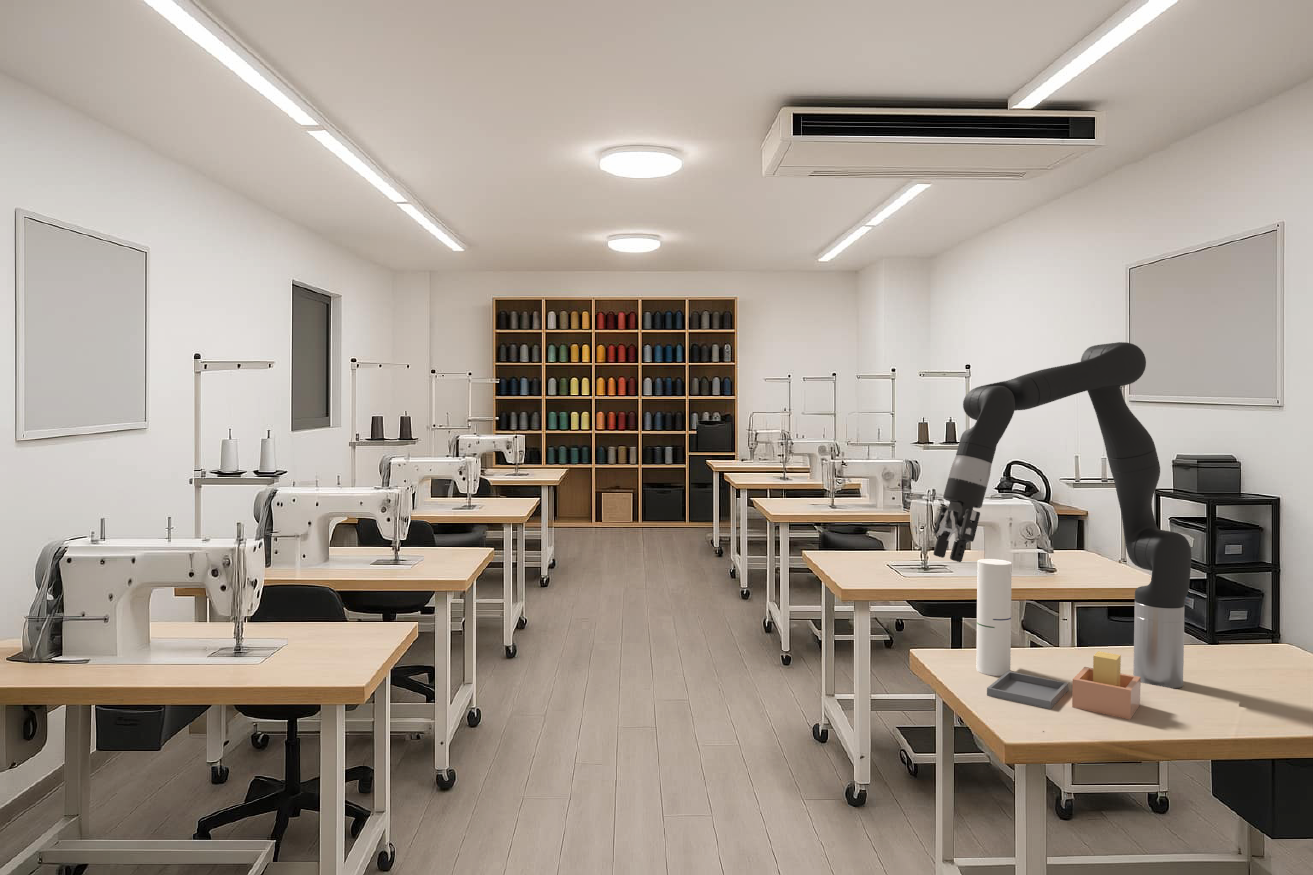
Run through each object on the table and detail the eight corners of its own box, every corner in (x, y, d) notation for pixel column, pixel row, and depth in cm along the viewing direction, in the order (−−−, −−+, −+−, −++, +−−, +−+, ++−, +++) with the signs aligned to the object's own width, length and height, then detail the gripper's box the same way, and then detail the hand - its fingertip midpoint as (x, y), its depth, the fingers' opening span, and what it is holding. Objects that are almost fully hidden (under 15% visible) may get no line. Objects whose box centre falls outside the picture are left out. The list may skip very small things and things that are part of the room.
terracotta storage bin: (1084, 697, 166) (1084, 666, 166) (1140, 709, 160) (1140, 676, 159) (1072, 711, 158) (1072, 679, 158) (1130, 724, 152) (1130, 690, 152)
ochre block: (1097, 700, 162) (1098, 651, 161) (1119, 705, 159) (1120, 654, 159) (1092, 706, 159) (1093, 655, 158) (1115, 710, 156) (1116, 659, 156)
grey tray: (1008, 682, 176) (1008, 670, 176) (1068, 694, 168) (1068, 682, 168) (986, 699, 165) (986, 687, 165) (1050, 714, 157) (1050, 701, 157)
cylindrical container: (1013, 676, 179) (1014, 565, 178) (979, 674, 181) (980, 564, 180) (1006, 666, 186) (1007, 559, 185) (973, 665, 188) (974, 558, 187)
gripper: (1001, 487, 156) (979, 568, 155) (970, 486, 170) (950, 560, 169) (964, 476, 156) (942, 557, 155) (936, 475, 170) (916, 550, 169)
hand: (946, 558), depth 162 cm, fingers open, 8 cm apart
